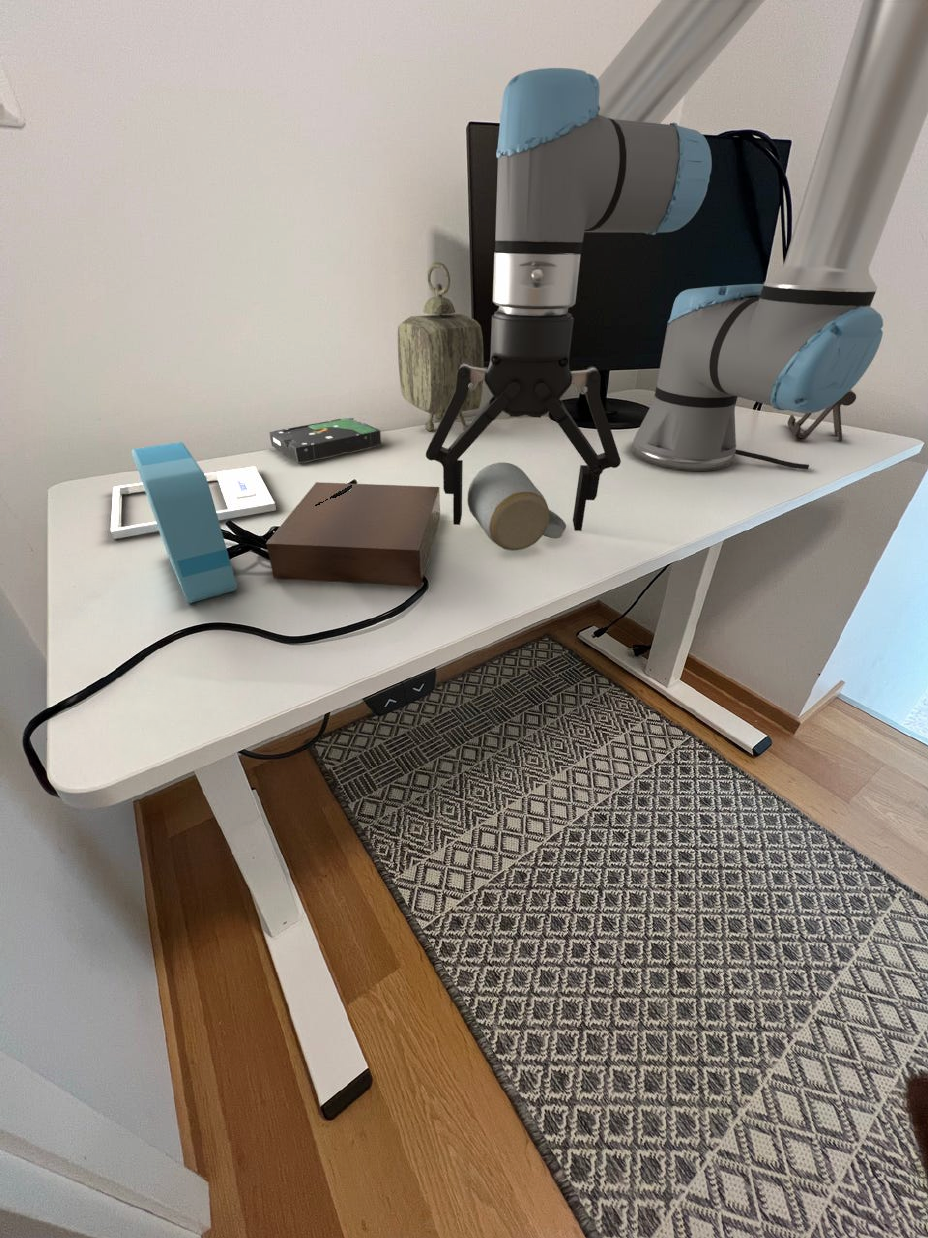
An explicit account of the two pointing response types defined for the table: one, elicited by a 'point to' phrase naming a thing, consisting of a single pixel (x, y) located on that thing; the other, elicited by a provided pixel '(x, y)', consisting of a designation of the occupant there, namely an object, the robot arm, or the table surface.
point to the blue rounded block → (186, 520)
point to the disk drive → (325, 439)
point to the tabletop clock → (438, 354)
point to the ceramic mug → (511, 507)
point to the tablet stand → (801, 435)
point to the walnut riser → (358, 535)
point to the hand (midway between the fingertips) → (516, 523)
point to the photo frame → (241, 498)
